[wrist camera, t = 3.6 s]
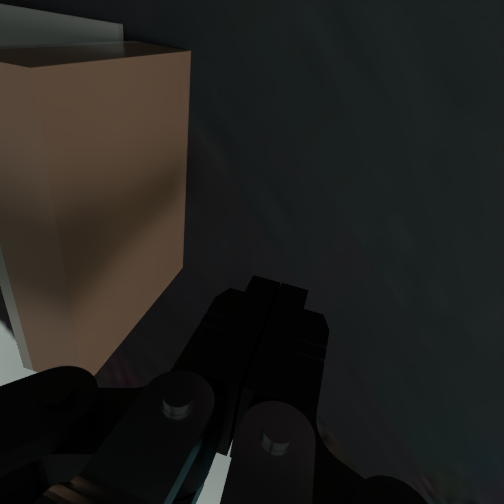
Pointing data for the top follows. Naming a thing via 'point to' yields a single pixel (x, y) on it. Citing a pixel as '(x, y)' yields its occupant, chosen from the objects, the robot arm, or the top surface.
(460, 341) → the top surface
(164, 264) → the tile
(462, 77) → the top surface
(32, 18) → the mat
